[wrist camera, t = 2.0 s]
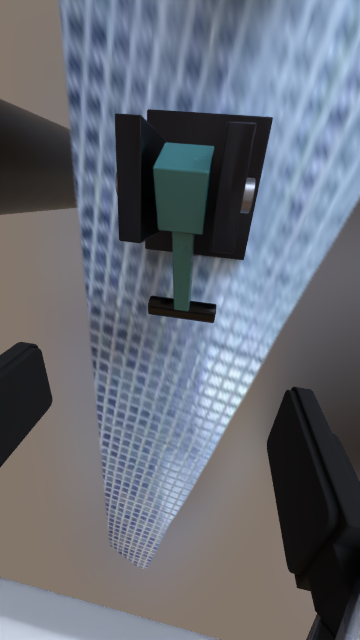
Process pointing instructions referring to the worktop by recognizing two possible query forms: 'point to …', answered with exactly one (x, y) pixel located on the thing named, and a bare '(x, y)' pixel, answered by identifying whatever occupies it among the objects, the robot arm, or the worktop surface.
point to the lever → (182, 222)
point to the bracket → (226, 182)
